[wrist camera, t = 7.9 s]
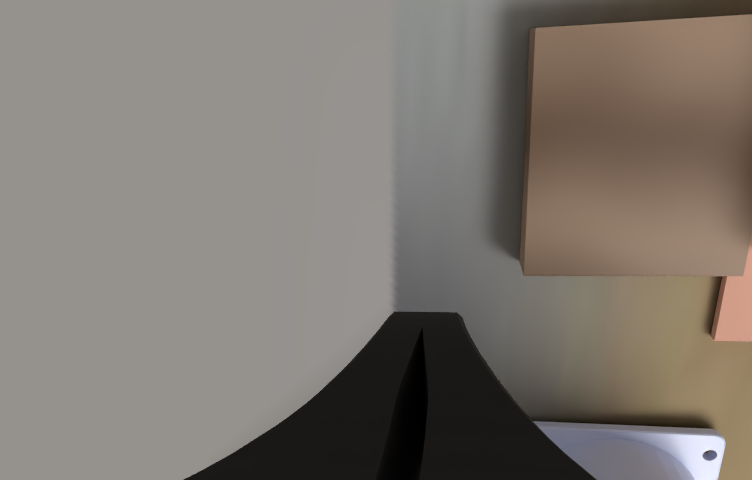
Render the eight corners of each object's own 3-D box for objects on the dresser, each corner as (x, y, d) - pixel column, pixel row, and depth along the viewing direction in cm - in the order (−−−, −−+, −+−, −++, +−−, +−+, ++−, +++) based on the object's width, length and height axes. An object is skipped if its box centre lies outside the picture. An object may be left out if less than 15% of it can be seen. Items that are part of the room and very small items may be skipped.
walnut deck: (725, 261, 18) (743, 276, 17) (519, 261, 19) (523, 275, 18) (773, 13, 15) (798, 11, 14) (529, 28, 16) (535, 27, 15)
